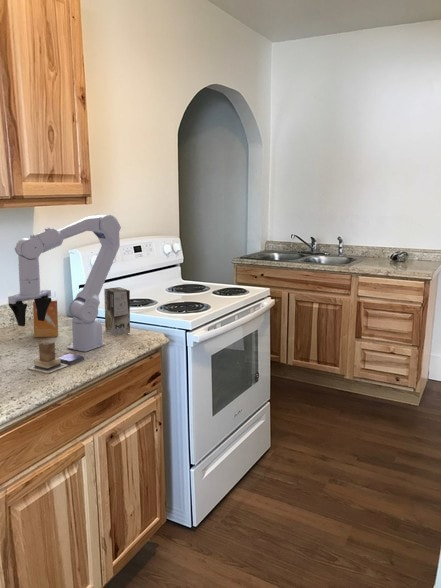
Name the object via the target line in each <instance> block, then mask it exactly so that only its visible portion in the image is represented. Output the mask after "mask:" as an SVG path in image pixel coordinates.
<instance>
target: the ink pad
mask: <svg viewBox="0 0 441 588" xmlns="http://www.w3.org/2000/svg"><path fill="white" fill-rule="evenodd" d="M57 358H59V359H60V360H61V363H63V364H67V365H69V366H73V365H75V364H78V363H80V362H83V361H85V360H86V359H85V356H83V355H79V354H72V353H67V354H64V355H61V356H59V357H57Z"/></svg>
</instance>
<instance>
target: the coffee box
mask: <svg viewBox="0 0 441 588" xmlns="http://www.w3.org/2000/svg"><path fill="white" fill-rule="evenodd" d="M103 290H104V293H103V295H104V323H105V332H107V333H109V334H110V335H113V336H114V337H116V336H117V335H118V336H123V334H126V335H129V334H128V333H130V334H131V312H130V311H131V307H130V306H131V303H130V302H131V295H130V293H131V291H130V290H129V289H126V288H123V287H118V286H117V287H109V288H104V289H103Z"/></svg>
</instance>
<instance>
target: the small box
mask: <svg viewBox="0 0 441 588" xmlns="http://www.w3.org/2000/svg"><path fill="white" fill-rule="evenodd" d="M50 298H51V302H50V304H49V306H48V309H47V312H46V316H45V320H44V321H38V318H37V308H36V304H35V301H34V299H32V304H33V305H32V307H33V308H32V309H33V311H32V313H33V316H32V317H33V336H34V338H51V337H59V317H58V316H59V315H58V313H59V312H58V297H50Z"/></svg>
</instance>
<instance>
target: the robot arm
mask: <svg viewBox="0 0 441 588" xmlns="http://www.w3.org/2000/svg"><path fill="white" fill-rule="evenodd" d="M121 227H122V226H121V225H120V222H119V220H118V219H117V217H115V216H114V215H112V214H99V213H97V214H94V215H89V216H86V217H84V218H81V219H80V220H77V221H75V222H73V223H71V224H68V225H67V226H65V227H63V228H62V227H61V228H59V229H57V228H54V227H45V228H44V231H42V232H39V233H36V234H33V233H32V234H30V235H29V237H30V238H25V237H24V238H21V239H19V240H18V241H17V242H16V245H15V247H14V251H15V253H16V255H17V256H18V279H19V280H18V281H19V292H18V293H16V294H14V295H11V296H8V297H7V299H8V300H7V301H8V307H9V308H10V309H11V311H12V312H13V315H14V317H15V320H16V321H17V325H18V327H25V326H26V313H27V308H28V303H24V302H27V301H30V300H31V301H33V299H34V301H35V304H36V308H37V318H38V321H44V320H45V316H46V312H47V309H48V306H49V304H50V302H51V298H52V291H51V289H41V279H40V263H39V257H40V255H42V254H44V253H46V252H49V251H50V250H53V249H56V248H57V247H60V246H62V244H63V242H64V240H67V239H68V238H71V237H74V236H77V235H79V234H82V233H85V232H92V233H93V234H94V235H95V236H96V237H97V238H98V242H99V243H100V244H101V245H100V246H101V247H100V248H99V252H98V253H97V256H96V258H95V259H94V263H93V265H92V267H91V270H90V272H89V273H88V276H87V279H86V281H85V284H84V286H83V288H82V289H81V290H80V291H79V292H77V294H76V296H75V298H73V300H72V301H71V302H70V303H69V306H68V311H69V314H70V316H72V319H71V321H72V323H71V325H72V326H71V327H72V328H71V329H72V330H71V331H72V344H71V345H68V346H67V347H66V348H67V349H70V350H74V351H79V352H88V351H92V350H94V349H97V348H100V347H103V346H105V343H104V342H103V326H102V323H101V321H100V319H98V318H97V317H98V316H99V305H100V303H101V301H100V296H99V295H100V293H101V291H102V288H103V286H104V284H105V281H106V279H107V276H108V275H109V273H110V271H111V267H112V265H113V263H114V261H115V259H116V256H117V253H118V252H119V249H120V245H121V244H120V232H121V229H122V228H121Z"/></svg>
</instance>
